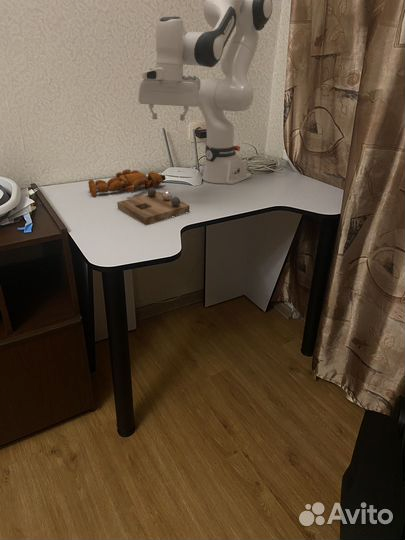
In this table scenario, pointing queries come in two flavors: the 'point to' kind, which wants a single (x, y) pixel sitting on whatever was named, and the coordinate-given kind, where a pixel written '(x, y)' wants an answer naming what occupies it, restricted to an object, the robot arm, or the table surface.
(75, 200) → the table surface
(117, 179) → the toy
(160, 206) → the wooden board with hole
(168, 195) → the steel ball
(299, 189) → the table surface
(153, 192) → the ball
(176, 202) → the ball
